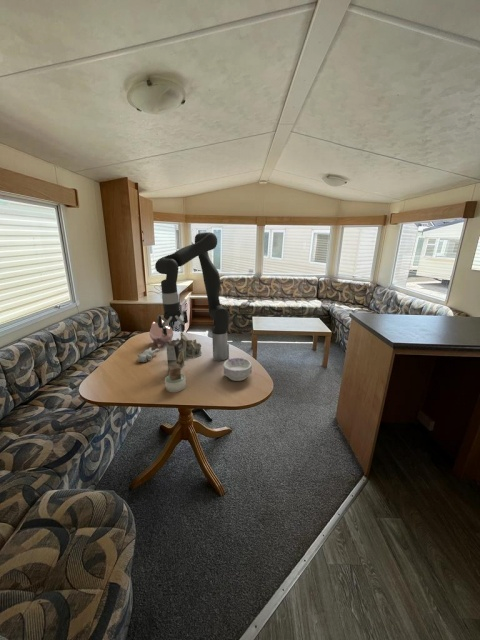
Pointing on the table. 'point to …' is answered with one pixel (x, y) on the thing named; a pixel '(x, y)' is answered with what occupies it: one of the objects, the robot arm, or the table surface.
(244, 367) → the white purple floral bowl
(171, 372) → the walnut block
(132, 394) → the table surface
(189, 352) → the ceramic cottage
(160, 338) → the piggy bank
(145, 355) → the bunny figurine
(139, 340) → the table surface
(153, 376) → the table surface
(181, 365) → the coffee box
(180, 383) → the ceramic bowl
